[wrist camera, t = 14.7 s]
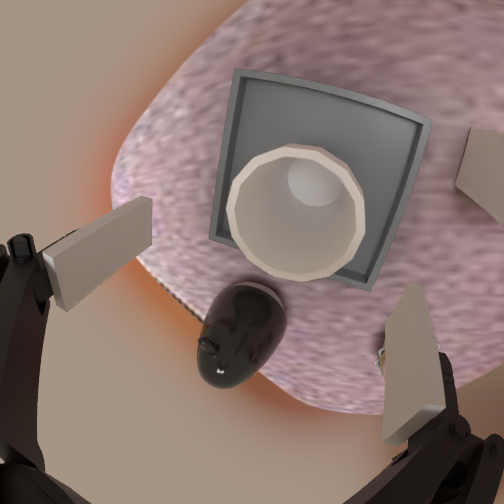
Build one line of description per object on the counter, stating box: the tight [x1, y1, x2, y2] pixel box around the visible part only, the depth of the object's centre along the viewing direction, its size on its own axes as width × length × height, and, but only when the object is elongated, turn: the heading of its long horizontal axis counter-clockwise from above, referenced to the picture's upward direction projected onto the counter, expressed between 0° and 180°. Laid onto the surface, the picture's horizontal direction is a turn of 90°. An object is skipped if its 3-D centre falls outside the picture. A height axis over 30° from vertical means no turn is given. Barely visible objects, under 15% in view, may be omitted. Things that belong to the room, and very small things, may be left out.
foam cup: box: [226, 143, 365, 282], centre depth 24 cm, size 10×9×13 cm
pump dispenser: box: [197, 282, 287, 389], centre depth 35 cm, size 10×10×15 cm
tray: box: [209, 68, 432, 292], centre depth 30 cm, size 20×20×3 cm
